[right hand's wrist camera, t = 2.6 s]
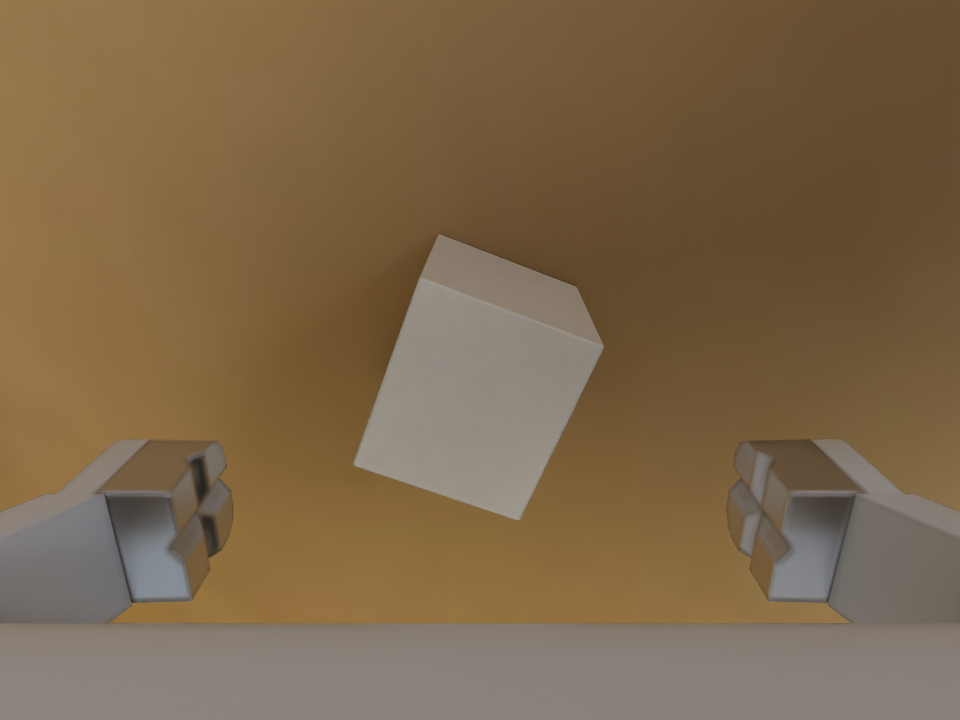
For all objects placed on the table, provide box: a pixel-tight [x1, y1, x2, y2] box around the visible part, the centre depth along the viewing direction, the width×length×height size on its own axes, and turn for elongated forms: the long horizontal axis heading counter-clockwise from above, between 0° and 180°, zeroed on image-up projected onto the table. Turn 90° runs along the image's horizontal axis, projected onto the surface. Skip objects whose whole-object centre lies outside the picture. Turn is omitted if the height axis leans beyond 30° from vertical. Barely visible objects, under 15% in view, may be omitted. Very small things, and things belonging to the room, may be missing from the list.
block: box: [353, 234, 604, 521], centre depth 17 cm, size 4×5×5 cm
